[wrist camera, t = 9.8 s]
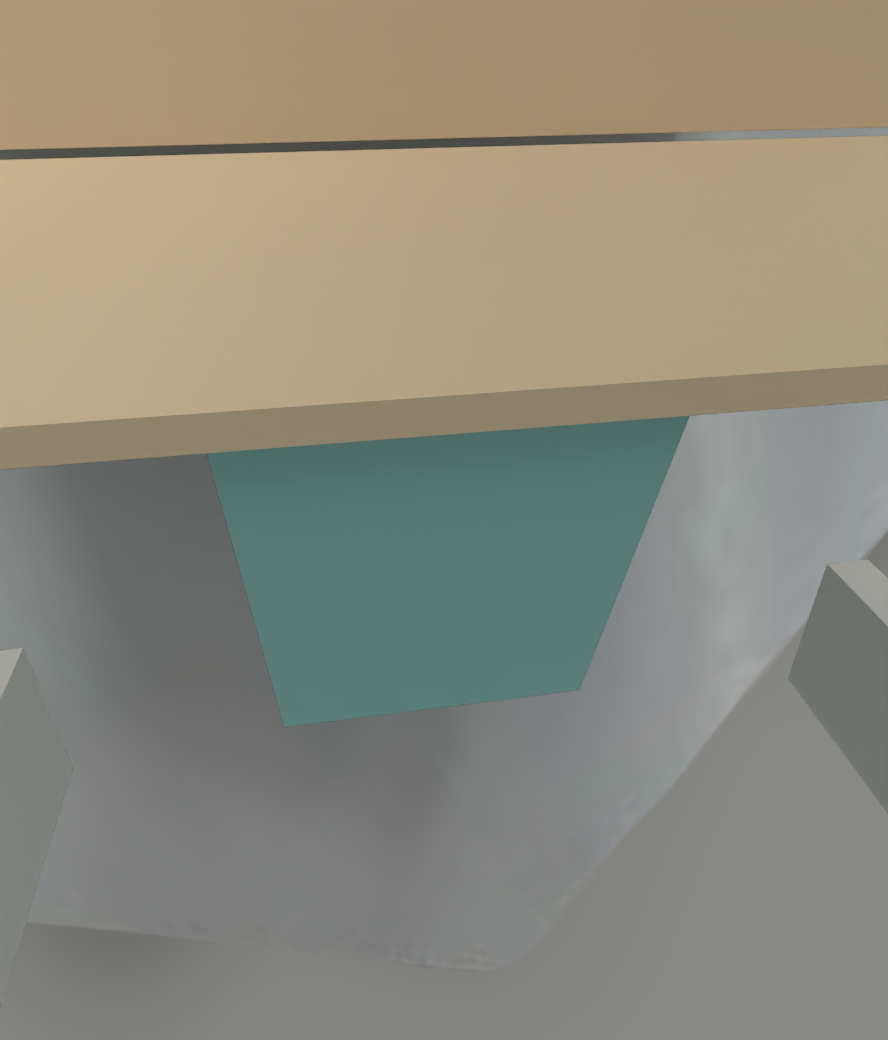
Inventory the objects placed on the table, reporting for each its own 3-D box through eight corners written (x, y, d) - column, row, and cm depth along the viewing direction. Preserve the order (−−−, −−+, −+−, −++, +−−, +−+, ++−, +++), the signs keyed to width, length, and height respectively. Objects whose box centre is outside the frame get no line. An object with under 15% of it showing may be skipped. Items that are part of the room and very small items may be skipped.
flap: (-416, 457, 7) (-25, 782, 14) (1139, 345, 10) (834, 670, 16) (-194, 165, 11) (32, 534, 18) (898, 135, 13) (729, 472, 20)
